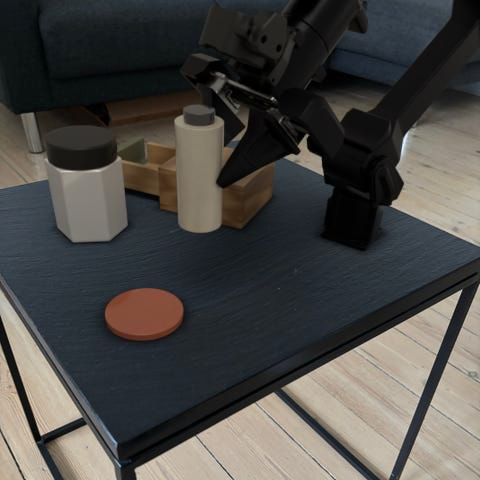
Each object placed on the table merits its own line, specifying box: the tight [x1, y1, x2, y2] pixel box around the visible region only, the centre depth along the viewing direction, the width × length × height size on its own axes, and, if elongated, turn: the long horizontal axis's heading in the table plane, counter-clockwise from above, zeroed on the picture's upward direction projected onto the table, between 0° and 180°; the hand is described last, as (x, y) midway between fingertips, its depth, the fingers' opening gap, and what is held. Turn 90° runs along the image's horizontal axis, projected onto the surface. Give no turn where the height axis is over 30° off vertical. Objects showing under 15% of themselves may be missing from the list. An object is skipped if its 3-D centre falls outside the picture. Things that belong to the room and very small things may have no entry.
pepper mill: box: [173, 104, 224, 234], centre depth 48 cm, size 4×4×11 cm
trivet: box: [104, 287, 185, 342], centre depth 53 cm, size 8×8×1 cm
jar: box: [43, 125, 129, 244], centre depth 64 cm, size 9×8×12 cm
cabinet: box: [158, 146, 276, 230], centre depth 73 cm, size 13×12×6 cm
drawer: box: [117, 136, 176, 197], centre depth 77 cm, size 13×10×4 cm
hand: (205, 177), depth 49 cm, fingers closed on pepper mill, 4 cm apart
